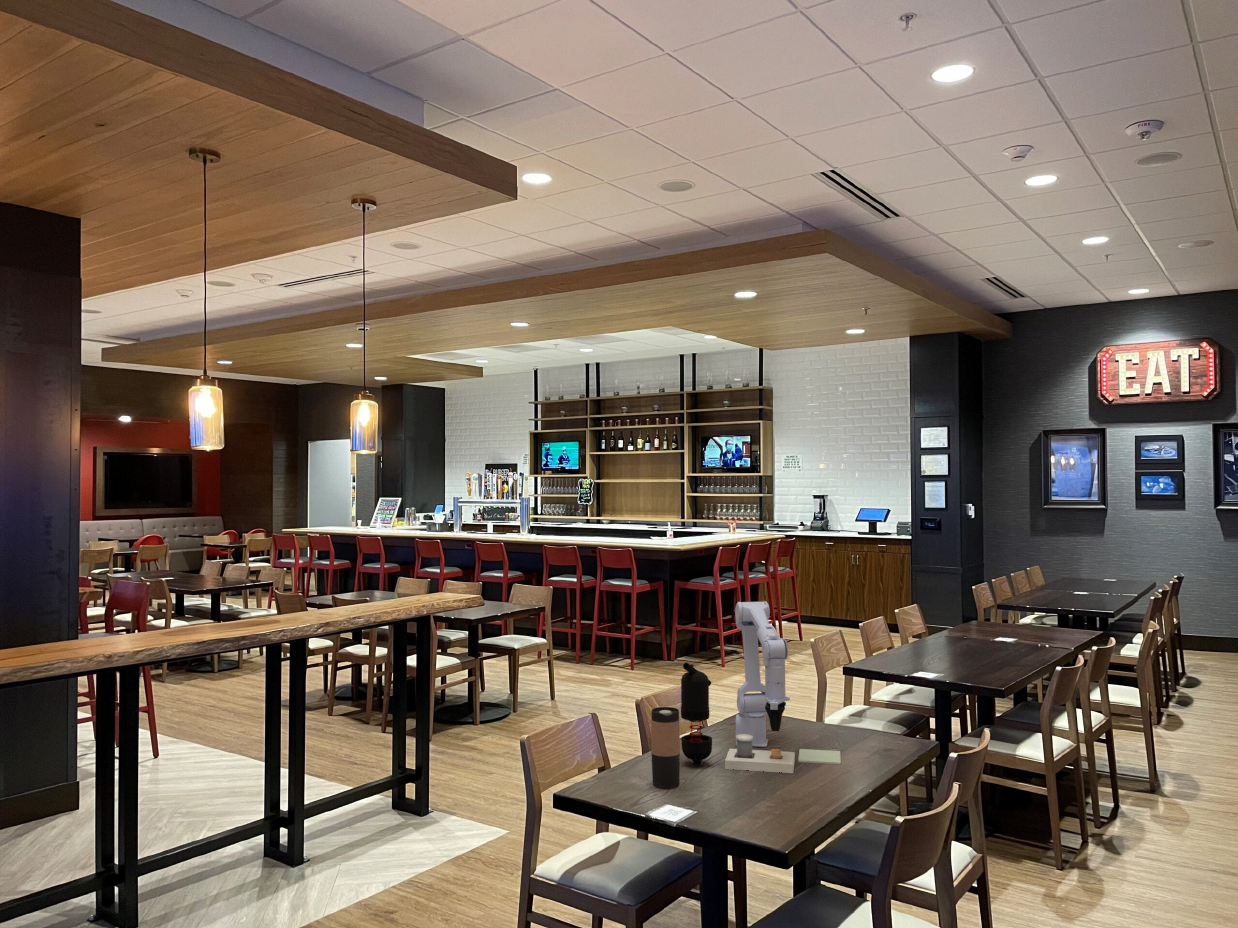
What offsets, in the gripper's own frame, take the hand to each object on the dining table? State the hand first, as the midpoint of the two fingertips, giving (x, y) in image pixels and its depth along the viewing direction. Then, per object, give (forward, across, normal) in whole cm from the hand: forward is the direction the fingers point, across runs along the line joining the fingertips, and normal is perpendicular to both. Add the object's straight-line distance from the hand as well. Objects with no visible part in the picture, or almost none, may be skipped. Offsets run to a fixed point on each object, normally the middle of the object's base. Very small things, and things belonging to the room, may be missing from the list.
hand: (775, 729), depth 260 cm
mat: (+10, +11, -12) cm, 19 cm away
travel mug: (+11, -23, +28) cm, 38 cm away
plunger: (+8, 0, 0) cm, 8 cm away
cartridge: (+10, 0, +9) cm, 14 cm away
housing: (+10, 0, +4) cm, 11 cm away
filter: (+11, -2, +22) cm, 25 cm away
